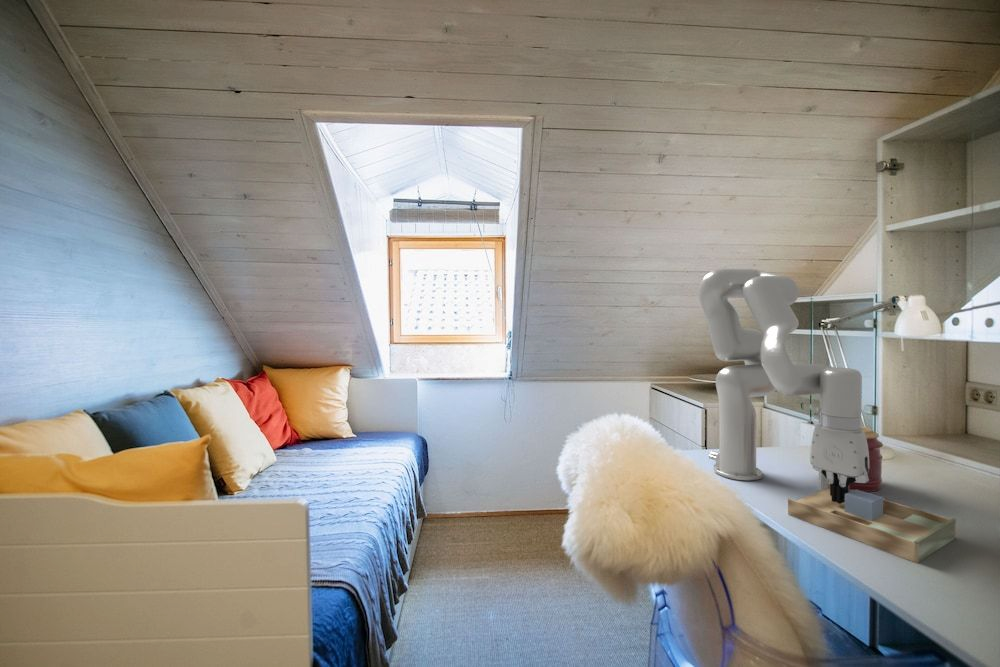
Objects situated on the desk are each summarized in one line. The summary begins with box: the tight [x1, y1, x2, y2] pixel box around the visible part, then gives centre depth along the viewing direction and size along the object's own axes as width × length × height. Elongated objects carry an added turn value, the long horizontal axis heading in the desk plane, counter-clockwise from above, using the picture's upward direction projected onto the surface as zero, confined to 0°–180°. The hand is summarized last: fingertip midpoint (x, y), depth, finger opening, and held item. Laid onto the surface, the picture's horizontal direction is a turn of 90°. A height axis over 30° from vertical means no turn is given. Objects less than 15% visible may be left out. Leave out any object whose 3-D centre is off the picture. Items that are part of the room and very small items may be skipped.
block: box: [844, 489, 884, 521], centre depth 96 cm, size 5×5×4 cm
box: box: [787, 483, 957, 564], centre depth 96 cm, size 23×18×4 cm
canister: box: [849, 425, 884, 492], centre depth 119 cm, size 13×13×18 cm
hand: (839, 501), depth 101 cm, fingers closed
